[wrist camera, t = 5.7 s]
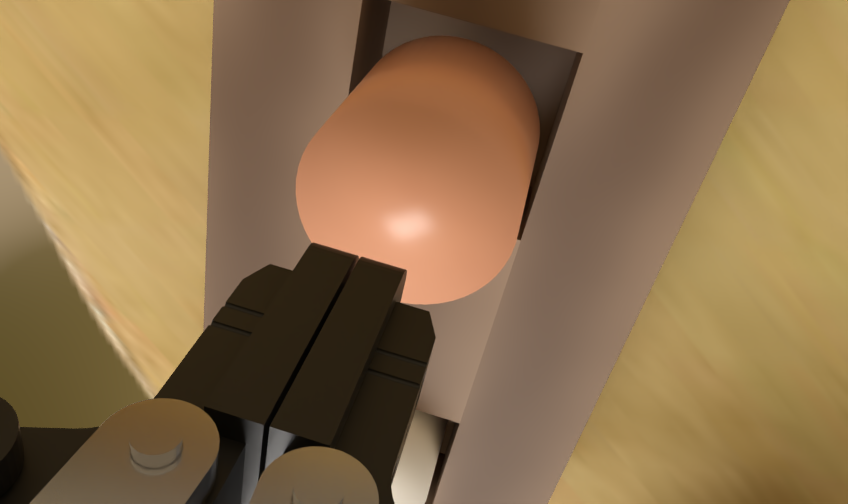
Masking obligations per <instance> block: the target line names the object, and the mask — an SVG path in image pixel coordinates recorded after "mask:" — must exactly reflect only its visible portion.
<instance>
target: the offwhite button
mask: <svg viewBox="0 0 848 504" xmlns="http://www.w3.org/2000/svg"><path fill="white" fill-rule="evenodd" d="M447 422H448V420H447V419H444V418H441V417H438V416H435V415H431V414H428V413H425V412H422V411H419V410H415V413H414V417H413V420H412V423H411V426H410V429H409V432H408V435H407V439H406V442H405V445H404V448H403V451H402V454H401V457H400V461H399V464H398V467H397V470H396V473H395V476H394V480H393V483H392V486H391V489H392V496H393V500H394V503H395V504H425V502H426V499H427V496H428V492H429V488H430V485H431V481H432V477H433V474H434V470H435V466H436V463H437V459H438V455H439V452H440V448H441V444H442V441H443V437H444V433H445V430H446V426H447Z"/></svg>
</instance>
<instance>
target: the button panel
mask: <svg viewBox="0 0 848 504" xmlns="http://www.w3.org/2000/svg"><path fill="white" fill-rule="evenodd" d="M789 1H790V0H214V14H213V46H212V78H211V110H210V142H209V175H208V207H207V239H206V271H205V303H204V331H205V329H206V328H207V327H208V325H211V323H212V320H213V318H214V317H215V316H216V314H217V313H218V312H219V310H220V309H221V308H222V306H225V304H226V301H227V300H228V298H229V297H230V296H231V294H232V293H233V291H234V290H235V289H236V287H237V286H238V285H239V283H240V282H241V281H242V279H244V278H246V277H247V276H249V275H251V274H253V273H254V272H256V271H258V270H260V269H262V268H263V267H265V266H267V265H269V264H272V265H276V266H279V267H282V268H286V269H289V270H292V271H293V269H294V268H295V266H296V265H297V263H298V262H299V260H300V259H301V257H302V256H303V254H304V253H305V251H306V250H307V248H308V247H309V245H310V244H311V241H310V239H309V237H308V235H307V233H306V231H305V229H304V227H303V224H302V222H301V219H300V216H299V212H298V207H297V201H296V176H297V171H298V166H299V163H300V160H301V158H302V155H303V153H304V151H305V149H306V147H307V145H308V143H309V142H310V141H311V139H312V138H313V137H314V135H315V134H316V133H317V132H318V130H319V129H320V128H321V127H322V126H323V125H324V123H325V122H326V121H327V120H328V119H329V118H330V117H331V115H332V114H333V113H334V112H335V111H336V110H337V108H338V107H339V106H340V105H341V104H342V103H343V101H344V100H345V99H346V98H347V97H348V96H349V95H350V93H351V92H352V91H353V90H354V89H355V88H356V86H357V85H358V84H359V83H360V82H361V81H362V80H363V78H364V77H365V76H366V75H367V74H368V73H369V71H370V70H371V69H372V68H373V67H374V66H375V64H376V63H377V62H378V61H379V60H380V59H381V58H383V57H384V56H385V55H386V54H387V53H389V52H390V51H391V50H393V49H394V48H396V47H398V46H400V45H402V44H404V43H406V42H409V41H412V40H414V39H418V38H423V37H428V36H441V35H442V36H455V37H460V38H465V39H469V40H472V41H474V42H477V43H480V44H482V45H484V46H486V47H488V48H490V49H492V50H493V51H495V52H496V53H498V54H499V55H501V56H502V57H504V58H505V59H506V60H507V61H508V62H509V63H510V64H512V65H513V67H514V68H515V69H516V70H517V71H518V72H519V73H520V75H521V76H522V77H523V79H524V80H525V82H526V83H527V85H528V87H529V89H530V91H531V93H532V95H533V97H534V100H535V103H536V106H537V109H538V115H539V120H540V138H539V146H538V150H537V154H536V159H535V163H534V167H533V172H532V176H531V180H530V185H529V189H528V193H527V198H526V202H525V207H524V211H523V215H522V220H521V224H520V228H519V233H518V237H517V241H516V244H515V247H514V249H513V252H512V254H511V256H510V258H509V259H508V261H507V263H506V264H505V266H504V267H503V268H502V270H501V271H500V272H499V273H498V274H497V276H496V277H494V278H493V279H492V280H491V281H490V282H489V283H488V284H486V285H485V286H483V287H482V288H480V289H479V290H477V291H476V292H474V293H472V294H469V295H467V296H465V297H463V298H460V299H457V300H454V301H449V302H444V303H439V304H427V305H423V304H408V303H403V304H406V305H409V306H413V307H416V308H419V309H423V310H426V311H429V312H430V315H431V319H432V324H433V328H434V332H435V336H436V339H435V343H434V346H433V350H432V353H431V357H430V361H429V364H428V368H427V371H426V375H425V379H424V382H423V386H422V389H421V393H420V397H419V400H418V404H417V407H416V410H419V411H422V412H425V413H428V414H431V415H435V416H438V417H441V418H444V419H447V420H448V422H447V426H446V430H445V433H444V437H443V441H442V444H441V448H440V452H439V455H438V459H437V463H436V466H435V470H434V474H433V477H432V481H431V485H430V488H429V492H428V496H427V499H426V502H425V504H548V502H549V500H550V498H551V496H552V494H553V492H554V490H555V487H556V485H557V483H558V481H559V479H560V477H561V475H562V473H563V471H564V469H565V467H566V465H567V463H568V460H569V458H570V456H571V454H572V452H573V450H574V448H575V446H576V444H577V442H578V440H579V438H580V436H581V433H582V431H583V429H584V427H585V425H586V423H587V421H588V419H589V417H590V415H591V413H592V411H593V408H594V406H595V404H596V402H597V400H598V398H599V396H600V394H601V392H602V390H603V388H604V386H605V384H606V381H607V379H608V377H609V375H610V373H611V371H612V369H613V367H614V365H615V363H616V361H617V359H618V356H619V354H620V352H621V350H622V348H623V346H624V344H625V342H626V340H627V338H628V336H629V334H630V332H631V329H632V327H633V325H634V323H635V321H636V319H637V317H638V315H639V313H640V311H641V309H642V307H643V305H644V302H645V300H646V298H647V296H648V294H649V292H650V290H651V288H652V286H653V284H654V282H655V280H656V277H657V275H658V273H659V271H660V269H661V267H662V265H663V263H664V261H665V259H666V257H667V255H668V253H669V250H670V248H671V246H672V244H673V242H674V240H675V238H676V236H677V234H678V232H679V230H680V228H681V226H682V223H683V221H684V219H685V217H686V215H687V213H688V211H689V209H690V207H691V205H692V203H693V201H694V198H695V196H696V194H697V192H698V190H699V188H700V186H701V184H702V182H703V180H704V178H705V176H706V174H707V171H708V169H709V167H710V165H711V163H712V161H713V159H714V157H715V155H716V153H717V151H718V149H719V147H720V144H721V142H722V140H723V138H724V136H725V134H726V132H727V130H728V128H729V126H730V124H731V122H732V119H733V117H734V115H735V113H736V111H737V109H738V107H739V105H740V103H741V101H742V99H743V97H744V95H745V92H746V90H747V88H748V86H749V84H750V82H751V80H752V78H753V76H754V74H755V72H756V70H757V68H758V65H759V63H760V61H761V59H762V57H763V55H764V53H765V51H766V49H767V47H768V45H769V43H770V40H771V38H772V36H773V34H774V32H775V30H776V28H777V26H778V24H779V22H780V20H781V18H782V16H783V13H784V11H785V9H786V7H787V5H788V3H789ZM400 303H401V302H400Z"/></svg>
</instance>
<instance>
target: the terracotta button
mask: <svg viewBox="0 0 848 504" xmlns="http://www.w3.org/2000/svg"><path fill="white" fill-rule="evenodd" d="M539 138H540V120H539V115H538V109H537V106H536V103H535V100H534V97H533V95H532V93H531V91H530V89H529V87H528V85H527V83H526V82H525V80H524V79H523V77H522V76H521V75H520V73H519V72H518V71H517V70H516V69H515V68H514V67H513V65H512V64H510V63H509V62H508V61H507V60H506V59H505V58H504V57H502V56H501V55H499V54H498V53H496V52H495V51H493V50H492V49H490V48H488V47H486V46H484V45H482V44H480V43H477V42H474V41H472V40H469V39H465V38H460V37H455V36H442V35H441V36H428V37H423V38H418V39H414V40H412V41H409V42H406V43H404V44H402V45H400V46H398V47H396V48H394V49H393V50H391V51H390V52H389V53H387V54H386V55H385V56H384V57H383V58H381V59H380V60H379V61H378V62H377V63H376V64H375V66H374V67H373V68H372V69H371V70H370V71H369V73H368V74H367V75H366V76H365V77H364V78H363V80H362V81H361V82H360V83H359V84H358V85H357V86H356V88H355V89H354V90H353V91H352V92H351V93H350V95H349V96H348V97H347V98H346V99H345V100H344V101H343V103H342V104H341V105H340V106H339V107H338V108H337V110H336V111H335V112H334V113H333V114H332V115H331V117H330V118H329V119H328V120H327V121H326V122H325V123H324V125H323V126H322V127H321V128H320V129H319V130H318V132H317V133H316V134H315V135H314V137H313V138H312V139H311V141H310V142H309V143H308V145H307V147H306V149H305V151H304V153H303V155H302V158H301V160H300V163H299V166H298V171H297V176H296V201H297V207H298V212H299V216H300V219H301V222H302V224H303V227H304V229H305V231H306V233H307V235H308V237H309V239H310V241H311V243H313V242H314V243H318V244H321V245H324V246H328V247H331V248H334V249H338V250H341V251H344V252H348V253H351V254H355V255H358V256H359V259H360V257H365V258H369V259H372V260H375V261H379V262H382V263H385V264H389V265H392V266H396V267H399V268H402V269H406V270H407V275H406V281H405V285H404V289H403V294H402V298H401V303H408V304H423V305H427V304H439V303H444V302H449V301H454V300H457V299H460V298H463V297H465V296H467V295H469V294H472V293H474V292H476V291H477V290H479V289H480V288H482V287H483V286H485V285H486V284H488V283H489V282H490V281H491V280H492V279H493V278H494V277H496V276H497V274H498V273H499V272H500V271H501V270H502V268H503V267H504V266H505V264H506V263H507V261H508V259H509V258H510V256H511V254H512V252H513V249H514V247H515V244H516V241H517V237H518V233H519V228H520V224H521V220H522V215H523V211H524V207H525V202H526V198H527V193H528V189H529V185H530V180H531V176H532V172H533V167H534V163H535V159H536V154H537V150H538V146H539Z"/></svg>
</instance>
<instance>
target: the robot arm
mask: <svg viewBox="0 0 848 504" xmlns="http://www.w3.org/2000/svg"><path fill="white" fill-rule="evenodd" d="M406 275H407V270H406V269H402V268H399V267H396V266H392V265H389V264H385V263H382V262H379V261H375V260H372V259H369V258H365V257H360V259H359V256H358V255H355V254H351V253H348V252H344V251H341V250H338V249H334V248H331V247H328V246H324V245H321V244H318V243H314V242H313V243H311V244H310V245H309V247H308V248H307V250H306V251H305V253H304V254H303V256H302V257H301V259H300V260H299V262H298V263H297V265H296V266H295V268H294V269H293V271H292V270H289V269H286V268H282V267H279V266H276V265H272V264H269V265H267V266H265V267H263V268H262V269H260V270H258V271H256V272H254V273H253V274H251V275H249V276H247V277H246V278H244V279H242V281H241V282H240V283H239V285H238V286H237V287H236V289H235V290H234V291H233V293H232V294H231V296H230V297H229V298H228V300H227V301H226V304H225V306H222V308H221V309H220V310H219V312H218V313H217V314H216V316H215V317H214V318H213V320H212V323H211V325H208V327H207V328H206V329H205V331H204V332H203V333H202V335H201V336H200V337H199V339H198V340H197V341H196V343H195V344H194V345H193V347H192V348H191V349H190V351H189V352H188V354H187V355H186V356H185V358H184V359H183V360H182V362H181V363H180V364H179V366H178V367H177V368H176V370H175V371H174V372H173V374H172V375H171V376H170V378H169V379H168V380H167V382H166V383H165V385H164V386H163V387H162V389H161V390H160V391H159V393H158V394H157V395H156V396H155V397H154V399H148V400H144V401H140V402H136V403H134V404H131V405H128V406H126V407H124V408H122V409H120V410H119V411H117V412H116V413H114V414H113V415H111V416H110V417H109V418H108V419H107V420H106V421H105V422H104V423H103V424H102V425H101V426H100V427H94V428H83V429H65V428H32V427H20V426H19V421H18V417H17V414H16V412H15V411H14V409H13V407H12V406H11V405H10V404H9V403H8V402H6V400H4V399H2V398H0V504H395V503H394V500H393V496H392V489H391V486H392V483H393V480H394V476H395V473H396V470H397V467H398V464H399V461H400V457H401V454H402V451H403V448H404V445H405V442H406V439H407V435H408V432H409V429H410V426H411V423H412V420H413V417H414V413H415V410H416V407H417V404H418V400H419V397H420V393H421V389H422V386H423V382H424V379H425V375H426V371H427V368H428V364H429V361H430V357H431V353H432V350H433V346H434V343H435V339H436V336H435V332H434V328H433V324H432V319H431V315H430V312H429V311H426V310H423V309H419V308H416V307H413V306H409V305H406V304H403V303H400V302H401V298H402V294H403V289H404V285H405V281H406Z"/></svg>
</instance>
